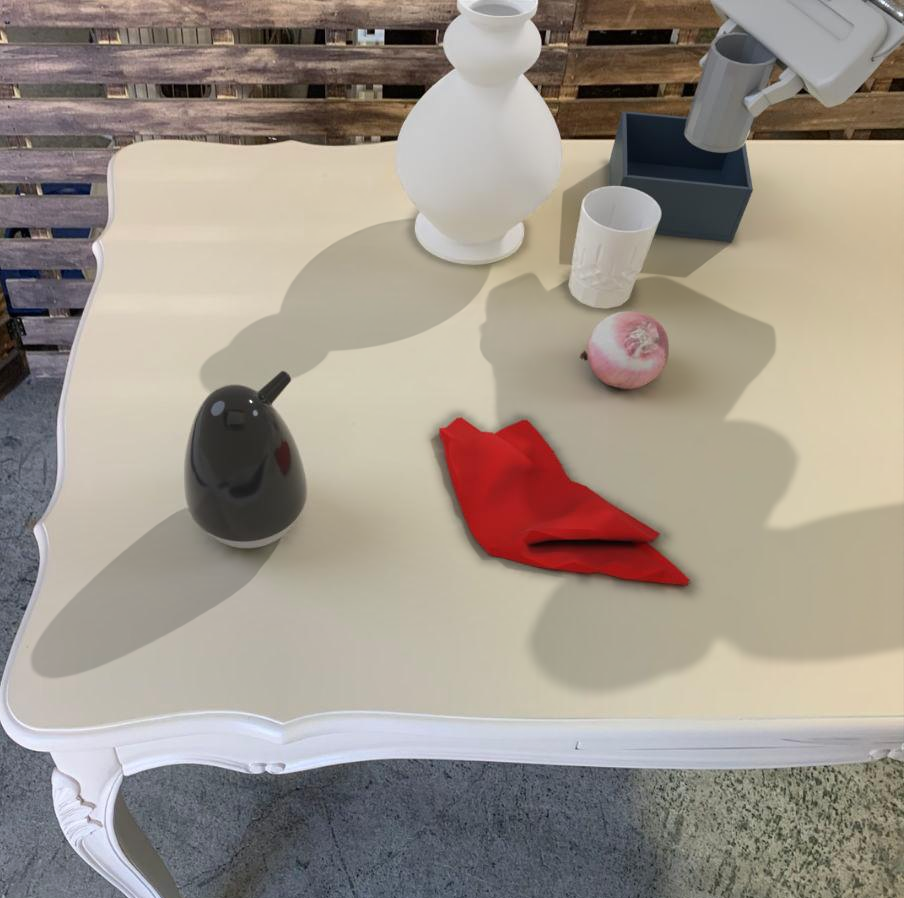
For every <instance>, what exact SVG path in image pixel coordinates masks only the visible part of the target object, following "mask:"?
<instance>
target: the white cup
mask: <svg viewBox="0 0 904 898" xmlns="http://www.w3.org/2000/svg"><path fill="white" fill-rule="evenodd" d="M660 219H661V209H660V206H659V205H658V203H657V202H656V201H655V200H654V199H653V198H652V197H650V196H649V195H647V194H646V193H644V192H642V191H639V190H636V189H633V188H629V187H623V186H609V185H606V186H601V187H598V188H594V189H593V190H591V191H589V192H588V193H586V195H584V197H583V199H582V200H581V207H580V211H579V217H578V223H577V229H576V234H575V240H574V244H573V251H572V257H571V269H570V274H569V280H568V285H567V286H568V289H569V291H570V294H571V296H572V297H573V298H574V299H576V300H577V301H578V302H579V303H581V304H583V305H586V306H589V307H591V308H594V309H604V310H605V309H606V310H608V309H612V308H617V307H621V306H622V305H623V304H625V303H626V302H627V301H628V300H629V299H630V297H631V294H632V291H633V288H634V286H635V283H636V281H637V280H638V277H639V276H640V273H641V271H642V268H643V266H644V263H645V260H646V258H647V256H648V254H649V251H650V249H651V245H652V242H653V240H654V237H655V236H656V235H655V232H656V229H657V227H658V224H659V221H660Z"/></svg>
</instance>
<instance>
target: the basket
mask: <svg viewBox="0 0 904 898" xmlns="http://www.w3.org/2000/svg"><path fill="white" fill-rule="evenodd" d="M687 117H688V116H679V115H670V114H658V113H648V112H639V111H638V112H637V111H626V110H622V111H621V114H620V117H619V122H618V126H617V130H616V133H615V138H614V142H613V146H612V150H611V154H610V158H609V161H608V186H623V187H629V188H633V189H636V190H639V191H642V192H644V193H646V194H647V195H649V196H650V197H652V198H653V199H654V200H655V201H656V202H657V203H658V205H659V206H660V209H661V219H660V221H659V224H658V227H657V229H656V232H655V235H654V236H662V237H663V236H665V237H675V238H683V239H694V240H700V241H701V240H702V241H712V242H721V243H730V244H731V243H733V241H734V239H735V236H736V233H737V231H738V229H739V226H740V224H741V221H742V219H743V216H744V214H745V211H746V210H747V206H748V204H749V202H750V199H751V197H752V194H753V192H754V189H753V188H754V187H753V181H752V175H751V168H750V163H749V156H748V149H747V145H746V144H747V143H746V142H745V144H744V145H743V146H742V147H741V148H740V149H738V150H736V151H732V152H726V153H717V152H711V151H706V150H703V149H701V148H698V147H696V146H694V145H693V144H692V143H690V142H689V141H688V140H687V138H686V137H685V134H684V129H685V124H686V121H687Z"/></svg>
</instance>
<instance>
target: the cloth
mask: <svg viewBox="0 0 904 898" xmlns="http://www.w3.org/2000/svg"><path fill="white" fill-rule="evenodd" d="M438 429H439V431H438V432H439V438H440V440H441V442H442V443H443V450H444V457H445V462H446V465H447V468H448V472H449V476H450V479H451V483H452V487H453V490H454V492H455V495H456V498H457V500H458V503H459V506H460V509H461V511H462V515H463V517H464V519H465V521H466V524H467V526H468V528H469V531H470V532H471V534H472V536H473V538H474V539H475V540H476V541H477V543H478V544H479V545H480V546H481V547H482V548H483V549H484V551H485V552H486V553H487V554H488V555H490V556H493V557H497V558H502V559H505V560H509V561H514V562H517V563H519V564H520V563H521V564H525V565H528V566H532V567H537V568H543V569H551V570H560V571H568V572H575V573H576V572H577V573H583V574H604V575H608V576H613V577H616V578H619V579H624V580H631V581H639V582H640V581H643V582H651V583H661V584H671V585H672V584H673V585H681V586H688V584H689V583H690V578H688V576H686V575H685V574H684V573H683V572H682V571H681V569H680V568H679V567H677V566H676V565H675V564H674V563H673V562H671V561H670V560H669V559H668V558H667V557H665V555H663V554H662V553H661V552H659V551H658V549H656V548H655V547H654V546H652V545H651V544H650V543H649V542H651V541H652V542H654V541H655V540H656V539H657V537H658V536H659V535H660V534H661V533H660V532H659V531H657V530H655V529H654V528H652V527H650V526H649V525H647V524H645V523H644V522H642V521H641V520H639V519H637V518H635V517H634V516H633V515H631V514H629V513H627V512H626V511H624V510H622V509H621V508H619V507H617V506H616V505H614V504H613V503H611V502H609V501H607V500H606V499H605V498H603V497H602V496H600V495H599V494H598V493H596V492H595V491H594V490H593V489H591V488H589V487H588V486H587V485H585V484H582V483H579V482H576V481H573V480H572V479H571V478H570V476H568V475H567V473H566V472H565V470H564V467H563V466H562V464H561V462H560V460H559V459H558V457H557V455H556V454H555V451H554V450H553V449H552V447H551V446H550V445H549V444H548V442H547V441H546V440H545V439H544V437H543V436H542V434H541V433H540V432H539V431H538V429H536V427H535V426H533V424H532V423H531V422H530V421H529V420H528V419H521V420H519V421H517V422H515V423H512V424H510V425H508V426H505V427H503V428H501V429H500V430H498V431H496V432H495V433H494V432H492V431H481V430H480V429H478V428H477V427H476V426H474V425H473V424H472V423H470V421H469V422H468V421H467V420H466V419H464V418H463V417H456V418H455V419H454V420H452V422H450V424H448V425H447V426H446V427H439V428H438Z"/></svg>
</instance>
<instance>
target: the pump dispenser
mask: <svg viewBox="0 0 904 898" xmlns="http://www.w3.org/2000/svg"><path fill="white" fill-rule="evenodd" d="M291 382H292V376H291V375H290V374H289V373H288V371H285V370H281V371H280V372H279V373H278V374H276V375H275V376H274V377H273V378H272V379H270V380H269V381H268V382H267V383H266V384H265V385H263V386H262V387H261V388H260V389H259V390H256V389H255V388H252V387H249V386H247V385H244V384H241V383H240V384H239V383H230V384H225V385H221V386H219V387H217V388H216V389H214V390H212V392H210V393H209V394H208V395H207V396H206V397H205V398H204V400H203V401H202V402H201V404H200V406H199V408H198V409H197V410H196V413H195V415H194V418H193V421H192V423H191V426H190V430H189V433H188V438H187V443H186V448H185V453H184V464H183V487H184V488H183V490H184V491H183V492H184V498H185V502H186V506H187V509H188V512H189V514H190V516H191V518H192V519H193V520H194V522H195V523H196V524H197V525H198V526H199V527H200V528H202V530H203V531H205V532H206V533H207V534H208V535H209V536H210V537H212V538H213V539H214V540H216V541H218V542H220V543H221V544H224V545H226V546H229V547H233V548H239V549H254V548H255V549H256V548H261V547H265V546H267V545H270V544H272V543H274V542H276V541H278V540H279V539H281V538H282V537H284V536H285V535H286V533H288V532H289V531H290V530H291V529H292V527H293V526H294V524H295V523H296V522H297V520H298V518H299V516H300V515H301V513H302V511H303V509H304V507H305V505H306V502H307V497H308V481H307V475H306V470H305V466H304V463H303V460H302V456H301V453H300V450H299V448H298V447H299V446H298V444H297V442H296V440H295V437H294V436H293V434H292V432H291V430H290V428H289V426H288V424H287V422H286V421H285V419H284V418H283V416H282V415H281V413H279V411H278V410H277V408H275V407H274V402H275V401H276V400H277V399H278V398H279V396H280V395H281V394H282V393H283V392H284V390H285V389H286V388H287V387H288V386H289V384H290V383H291Z"/></svg>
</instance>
